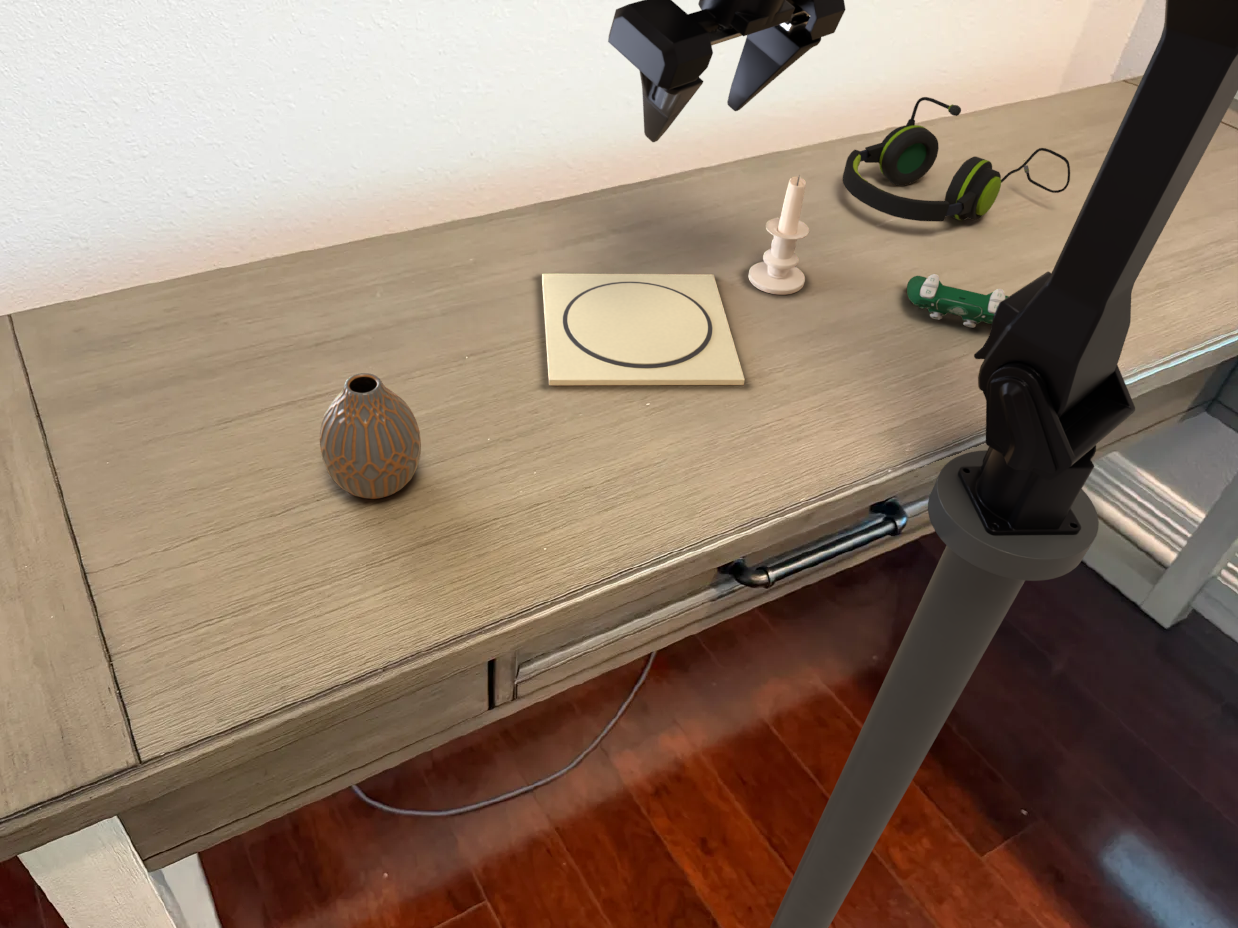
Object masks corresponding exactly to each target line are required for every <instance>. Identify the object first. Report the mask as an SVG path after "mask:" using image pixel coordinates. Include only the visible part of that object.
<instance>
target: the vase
mask: <svg viewBox="0 0 1238 928" xmlns="http://www.w3.org/2000/svg"><path fill="white" fill-rule="evenodd" d="M319 448H320V453H321V457H322V461H323V464H324V467H325V469H326V471H327V472H328V474H329V476H330V477H331V479H332V480H333V481H334V482H335V483H336V485H337V486H339V487H340V489H342V490H344V491H345V492H347V493H348V494H350V495H353V496H355V497H359V498H362V499H369V500H374V499H375V500H377V499H383V498H387V497H389V496H392V495H394V494H395V493H397V492H399V491H400V490H402V489H403V488H405V486H406V485H408V483H409V482H410V481H411V480H412V478H413V477H414V475H415V473H416V471H417V469H418V466H419V463H420V458H421V452H422V439H421V432H420V427H419V424H418V422H417V419H416V417H415V415H414V412H413V411H412V409H411V408H410V406H409V405H408V404H407V402H406V401H405V400H404V399H403V398H402V397H401V396H399V395H398V394H397V393H396V392H395V391H393V390H391V389H390V388H388V387H387V386H386V385H385V384H384V382H383V381H382V380H381V378H379V377H378V376H377V375H375V374H373V373H369V372H361V373H356V374H353V375H351V376H350V377H348V378H347V379H346V380H345V382H344V385H343V387H342V389H341V390H340V392H339V393H338V395H336V396H335V398H333V400H332V401H331V402H330V404H329V405H328V407H327V409H326V410H325V412H324V415H323V417H322V420H321V425H320V430H319Z"/></svg>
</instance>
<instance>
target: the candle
mask: <svg viewBox="0 0 1238 928" xmlns="http://www.w3.org/2000/svg"><path fill="white" fill-rule="evenodd" d="M806 185H807V182H806V180H805V179H804V178H803V177H801V175H800V174H798V176H797V175H796V176H791V177H790V178H789V179H788V183H787V188H786V192H785V196H784V200H783V204H782V209H781V212H780V216H779V217H774V218H771V219H769V220H767V222H766V223H765V229H766V231H767V233H769V234H771V235H772V236H773V238H772V240H771V242H770V243H771V245H770V246H771V247H770V248H768V249H766V251H764V253H763V256H762V260H763V261H759V262H757V263H755V264H753V265H752V266H751V267H750V268H749V271H748V280H749V282H750V283H751V285H752V286H753V287H755V288H756V289H758V290H759V291H762V292H763V293H767V294H772V295H778V296H779V295H780V296H783V295H784V296H785V295H786V296H787V295H793V294H795V293H797V292H799V291H801V289H803V287H804V285H805V282H806V277H805V274H804V272H803V271H802V270H801V269H800V268H798V267H797V265H798V263H799V257H798V255H797V254H796V253H795V251H796V248H797V241H798V240H801V239H803V238H806V237H808V235H809V233H810V228H809V226H808V225H807V224H806V223H805V222H804V221H801V220H800V218H801V214H802V213H801V212H802V208H803V203H804V197H805V193H806V187H807V186H806Z"/></svg>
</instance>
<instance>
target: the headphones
mask: <svg viewBox="0 0 1238 928" xmlns="http://www.w3.org/2000/svg"><path fill="white" fill-rule="evenodd" d="M923 101H926V102H931V103H933V104H936V105H937V106H940V107H942V108H944V109H946V110H947V112H948V113H949V114H950V115H951V116H954V117H958V116H960V114H961V113H962V108H961V106H959V105H957V104H950V105H949V104H947V103H944V102H942V101H940V100H938V99H936V98H933V97H930V96H929V97H928V96H921V97H920V98H919V99H917V101H916V103H915V104H914V106H913V110H912V113H911V116H910V118H909V119H908V120H907V123H905V125H901V126H899V127H897V128H895V129H893V130H891V131H890V132H889V133H888V134H887V135H886V136H885V137H884V138H883V140H882V141H881V142H879V143H876V144H872V145H869V146H866V147H865V149H863V150H862V149H861V150H859V149H853V150H852V151H851V152H850V154H849V155H848V156H847V158H846V162H845V165H844V170H843V174H842V179H841V181H842V184H843V186H844V189H846V191H848V193H849V194H850V195H851V196H853V198H855V199H857V200H858V201H859V202H861V203H863V204H865V205H866V206H868V207H870V208H872V209H874V210H876V211H878V212H881V213H883V214H886V215H889V216H891V217H894V218H895V217H896V218H900V219H903V220H908V221H909V220H910V221H917V222H945V219H946V217H950V218H953V219H956V220H958V221H965V220H967V219H969V220H972V221H978V220H980V219H982V218H983V217H984V216H985V215H986V214H987V213H988V212H989V211H990V209H991V208H992V207H993V205H994V203H995V202H996V199H997V197H998V195H999V193H1000V191H1001V186H1002V183H1003V182H1004V181H1005V180H1006V179H1008V178H1009V177H1010V176H1011V175H1012V174H1015V173H1017V172H1020V171H1021V170H1022V169H1023V170H1024V173H1025V175H1026V179H1027V180H1028V182H1029V183H1031V184H1033V185H1034V186H1036V187H1039V188H1041V189H1042V190H1045V191H1047V192H1049V193H1052V194H1058V193H1062V192H1064V191H1065V190H1066V189H1067V188H1068V187H1069V184H1070V182H1071V166H1070V162H1069V160H1068V159H1067V157H1065V156H1063V155H1062V154H1060V153H1058V152H1056V151H1054V150H1052V149H1050V148H1047V147H1039V148H1037V149H1036V150H1035V151H1034V152H1032V153H1031V155H1030V156H1029V157H1028V158H1027V159H1025V158H1023V163H1022V164H1021V165H1020V166H1019V167H1018V168H1015V169H1013V170H1010V171H1009V172H1008V173H1006V174H1005V175H1004V176H1003V177H1002V175H1001V172H1000V171H998V170H995V169H993V163H992V162H991V160H988V159H985V158H983V157H982V158H981V157H979V156H972V157H969V158H968V159H966V160H965V161H964V162H963V163H962V164H961V165H960V167H959V168H958V169H957V171H956V172H955V174H954V175H953V176H952V179H951V180H950V183H949V185H948V188H947V190H946V192H945V196H944V200H923V199H915V198H910V197H904V196H900V195H896V194H893V193H891V192H888V191H886V190H884V189H881V188H879V187H877V186H876V185H875V184H873V183H871V182H869V181H868V180H867V179H865V178H864V177H862V176H861V174H860V172H859V166H860V163H862V162H864V163H866V164H878V166H879V171H880V172H881V174H882V175H883V176H884V177H885V178H886V179H887V180H888V182H890V183H891V184H893V185H894V186H900V187H901V186H902V187H904V186H908V185H911V184H914V183H915V182H917V181H919V180H921V179H923V177H924V176H926V174H927V173H928V172H929V171H930V170H931V169H932V167H933V166H934V164H935V162H936V160H937V159H938V153H939V149H940V148H939V147H940V146H939V140H938V138H937V136H936V135H935V134H933V133H932V132H931V131H930V130H929V129H928V128H926V127H925V126H922V125H919V124H916V120H915V118H916V115H917V111H918V108H919V106H920V103H922V102H923ZM1039 152H1046V153H1049V154H1051V155H1053V156H1055V157H1056V158H1057V157H1058V158H1060V160H1063V161H1064V162H1065V164H1066V167H1067V177H1066V178H1067V179H1066V184H1065V185H1064V186H1063V188H1060V189H1058V190H1057V189H1055V190H1054V189H1050V188H1048V187H1046V186H1044V185H1043V184H1041V183H1039V182H1037V181H1035V180H1033V179H1032V178H1031V174H1030V167H1029V165H1028V164H1029V162H1030V161H1031V160H1032V159H1034V157H1035V156H1036V155H1037V154H1038V153H1039Z"/></svg>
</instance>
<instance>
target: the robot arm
mask: <svg viewBox="0 0 1238 928" xmlns="http://www.w3.org/2000/svg"><path fill="white" fill-rule="evenodd" d="M698 6H699V9H700V10H697V11H694V12H691V13H690V12H689V13H687V12H686V11H685V10H684V9H682V8H681V7H680V6H679V5H678V4H677V3H676V2H674V1H673V0H639V1H636V2H631V3H628V4H625V5H624V6H621V7H619V8H616V9H615V12H614V15H613V19H612V22H611V26H610V29H609V32H608V39H607V43H608V44H610V45H611V47H613V48H614V49H615V50H616V51H618V52H619V53H620V54H621V55H622V56H623V57H624V58H625V59H626V60H627V61H628V62H630V64H632V65H633V66H634V67H635V68H636V69H637V70H638V71H639V76H640V82H641V90H642V91H641V94H642V112H643V134H644V136H645V137H646V138H647V139H648V140H649V141H650V142H652V143H656V142H658V141H659V140H660V139H661V138H662V136H663V135H664V134H665V133H666V132H667V131H668V130H669V128H670V127H671V126H672V124H673V123H674V122H675V121H676V119H677V118H678V116H680V114H681V112H682V111H683V110H684V108H685V107H686V106H687V104H688V103H689V102H690V101H691V99H692V98H693V97H694V95H695V94H696V93H697V92H698V91H699V89H700V88H701V87H702V85H703V84H704V80H703V79H702V78H701V76H702V74H704V72H705V71H706V70H707V69H708V68H709V65H710V62H711V60H712V57H713V54H714V51H713V46H714V45H715V46H716V45H718V44H720V43H724V42H727V41H730V40H733V39H736V38H739V37H746V38H745V41H744V44H743V48H742V51H741V52H740V53H741V54H740V56H739V60H738V62H737V66H736V69H735V73H734V76H733V78H732V81H731V84H730V85H731V86H730V89H729V93H728V97H727V102H726V103H727V106H728V107H729V108H730V109H731V110H732V111H734V112H738V111H740V110H741V109H743V108H744V107H745V106H746V105H747V104H748V103H750V101H751V100H753V99H754V98H755V97H756V96H757V95H758V94H759V93H760V92H762V91H763V90H765V88H766V87H767V86H769V85H770V84H771V83H772V82H773V81H774V80H776V78H778V77H779V76H780V75H781V74H782V73H784V72H785V71H786V70H788V68H789V67H790V66H792V65H793V64H794V63H796V62H797V61H798V60H799V59H800V58H802V57H803V56H804V55H805V54H806V53H808V52H809V51H810V50H812V48H814V47H817V46H818V45H820V43H821V41H822V38H824V37H826V36H829V35H833V34H835V32H836V31H837V28H838V26H839V24H840V22H841V20H842V18H843V16H844V14H845V11H846V4H845V0H698ZM1237 93H1238V0H1165V5H1164V22H1163V28H1162V32H1161V35H1160V38H1159V41H1158V42H1157V45H1156V46H1155V48H1154V51H1153V54H1152V56H1151V58H1150V60H1149V62H1148V64H1147V66H1146V68H1145V71H1144V72H1143V75H1142V77H1141V79H1140V82H1139V83H1138V86H1137V88H1136V90H1135V92H1134V95H1133V97H1132V99H1131V101H1130V103H1129V105H1128V107H1127V109H1126V111H1125V114H1124V116H1123V118H1122V120H1121V121H1120V125H1119V126H1118V129H1117V131H1116V133H1115V136H1114V137H1113V140H1112V142H1111V144H1110V146H1109V148H1108V150H1107V153H1106V155H1105V157H1104V159H1103V161H1102V163H1101V165H1100V167H1099V170H1098V171H1097V174H1096V176H1095V178H1094V180H1093V183H1092V185H1091V187H1090V189H1089V191H1088V193H1087V195H1086V198H1085V200H1084V201H1083V204H1082V207H1081V209H1080V211H1079V213H1078V214H1077V217H1076V219H1075V221H1074V223H1073V226H1072V228H1071V230H1070V232H1069V234H1068V236H1067V239H1066V241H1065V243H1064V245H1063V247H1062V249H1061V252H1060V254H1059V256H1058V258H1057V260H1056V262H1055V265H1054V267H1053V269H1052V271H1051V272H1050V271H1046V272H1045V273H1043V274H1041V275H1040V276H1039V277H1037V278H1035V279H1033V280H1032V281H1031V282H1029V283H1027V284H1025V286H1022V287H1021V288H1020V289H1018V290H1017V291H1015V292H1013V293H1012V294H1011V295H1008V296H1009V297H1008V298H1006V299H1004V300H1003V301H1001V302H1000V303H999V305H998V307H997V309H996V312H995V314H994V317H993V321H992V324H990V330H989V333H988V336H987V339H986V340H985V342H984V344H983V346H982V347H980V349H978V350H977V351H976V352H975V353H974V354H973V359H975V360H983V361H982V363H981V364H980V367H979V371H978V375H977V387H978V389H979V390H980V391H981V392H982V393H983V396H984V398H985V403H986V404H985V445H986V446H987V447H988V448H987V452H986V454H985V457H984V459H983V464H982V466H962V467H960V469H959V471H958V476H959V478H960V480H961V482H962V484H963V486H964V488H965V490H966V492H967V494H968V496H969V498H970V500H971V502H972V504H973V506H974V508H975V510H976V512H977V514H978V517H979V519H980V521H981V523H982V525H983V527H984V529H985V531H986V532H987V533H988V534H990V535H993V536H1018V535H1076V534H1078V533H1079V531H1080V530H1081V525H1080V523H1079V522H1078V520H1077V518H1076V517H1075V515H1074V513H1073V512H1072V510H1071V507H1072V505H1073V503H1074V501H1075V500H1076V498H1077V496H1078V494H1079V493H1080V491H1081V489H1082V490H1083V488H1084V486H1085V484H1086V482H1087V480H1088V479H1089V477H1090V475H1091V473H1092V472H1093V470H1094V468H1095V464H1094V463H1093V461H1092V460H1093V458H1094V457H1095V454H1096V452H1097V445H1098V444H1099V443H1100V442H1101V441H1102V440H1104V439H1105V438H1106V437H1107V436H1108V435H1109V434H1110V433H1112V432H1113V431H1114V430H1115V429H1117V427H1119V426H1120V425H1121V424H1122V423H1123V422H1124V421H1126V420H1127V419H1128V418H1129V417H1130V416H1131V415H1133V414H1134V413H1135V411H1136V406H1135V403H1134V401H1133V399H1132V397H1131V394H1130V391H1129V389H1128V386H1127V384H1126V382H1125V380H1124V377H1123V375H1122V372H1121V370H1120V367H1119V365H1118V364H1119V361H1120V357H1121V354H1122V352H1123V348H1124V346H1125V342H1126V338H1127V336H1128V333H1129V329H1130V326H1131V319H1132V318H1131V316H1132V314H1131V313H1132V292H1133V289H1134V285H1135V283H1136V281H1137V279H1138V277H1139V275H1140V273H1141V271H1142V270H1143V268H1144V266H1145V264H1146V262H1147V260H1148V258H1149V257H1150V254H1151V253H1152V252H1153V249H1154V247H1155V245H1156V244H1157V242H1158V240H1159V238H1160V236H1161V234H1162V233H1163V230H1164V229H1165V227H1166V225H1167V224H1168V221H1169V219H1170V218H1171V216H1172V214H1173V212H1174V210H1175V208H1176V206H1177V205H1178V203H1179V201H1180V199H1181V197H1182V196H1183V194H1184V192H1185V190H1186V188H1187V186H1188V185H1189V182H1190V181H1191V179H1192V177H1193V174H1194V173H1195V171H1196V169H1197V167H1198V165H1199V163H1201V160H1202V158H1203V156H1204V154H1205V152H1206V151H1207V149H1208V147H1209V145H1210V143H1211V141H1212V139H1213V137H1214V136H1215V134H1216V132H1217V130H1218V129H1219V127H1220V125H1221V123H1222V121H1223V119H1224V117H1225V116H1226V114H1227V112H1228V110H1229V109H1230V106H1231V104H1232V102H1233V101H1234V98H1235V97H1236V95H1237Z"/></svg>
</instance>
